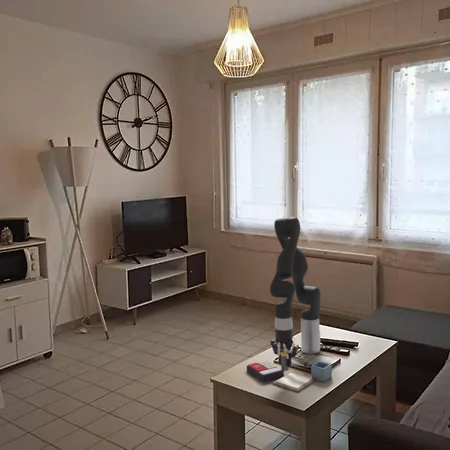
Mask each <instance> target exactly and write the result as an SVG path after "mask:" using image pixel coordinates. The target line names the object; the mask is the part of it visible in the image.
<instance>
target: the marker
mask: <svg viewBox="0 0 450 450" xmlns="http://www.w3.org/2000/svg"><path fill="white" fill-rule="evenodd" d="M280 366H281V367H280V368H281V370H282V371H284V372H288V371H289V370H290V366H289V367H287V366H286V354H285V351H284V350H283V351H281V365H280Z"/></svg>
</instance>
